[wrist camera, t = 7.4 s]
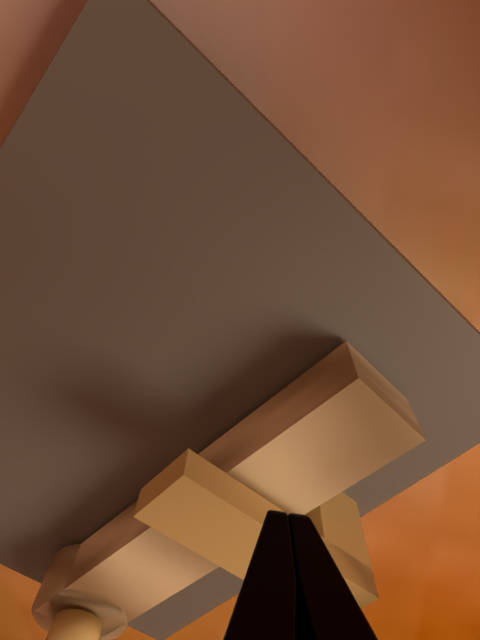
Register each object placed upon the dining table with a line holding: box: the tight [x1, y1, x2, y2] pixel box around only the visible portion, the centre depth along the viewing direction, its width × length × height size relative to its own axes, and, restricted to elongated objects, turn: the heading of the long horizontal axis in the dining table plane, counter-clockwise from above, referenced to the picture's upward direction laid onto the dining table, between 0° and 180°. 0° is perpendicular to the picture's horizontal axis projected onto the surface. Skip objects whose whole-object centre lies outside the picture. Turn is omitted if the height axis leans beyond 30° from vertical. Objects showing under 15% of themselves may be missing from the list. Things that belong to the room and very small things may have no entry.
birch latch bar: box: [32, 341, 426, 640], centre depth 17 cm, size 18×4×2 cm, turn 136°
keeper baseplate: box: [0, 0, 480, 640], centre depth 16 cm, size 22×18×5 cm
